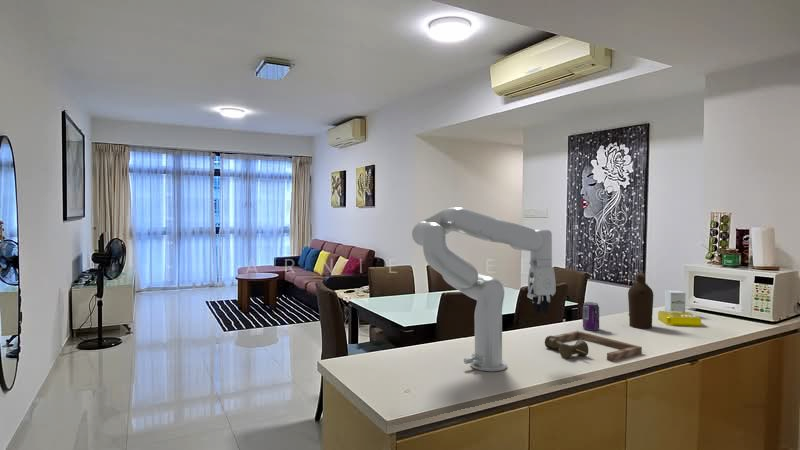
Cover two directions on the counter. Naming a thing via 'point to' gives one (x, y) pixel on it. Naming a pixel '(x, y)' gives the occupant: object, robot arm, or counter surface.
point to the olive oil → (640, 304)
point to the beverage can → (591, 316)
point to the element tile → (679, 318)
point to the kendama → (567, 347)
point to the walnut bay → (624, 351)
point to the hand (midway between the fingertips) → (541, 313)
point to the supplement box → (675, 301)
